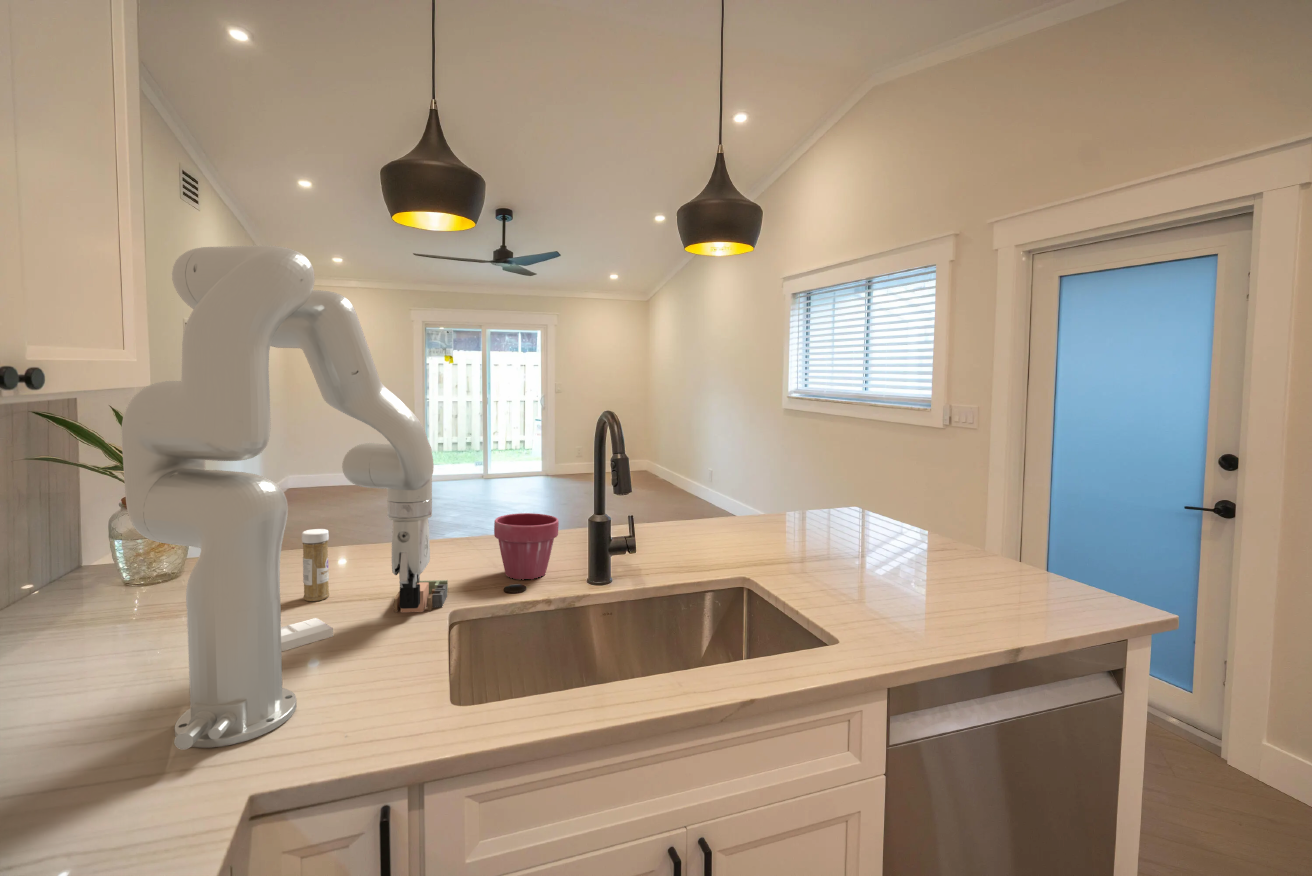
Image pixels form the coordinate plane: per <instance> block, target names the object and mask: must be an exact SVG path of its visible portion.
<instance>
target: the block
mask: <svg viewBox="0 0 1312 876" xmlns="http://www.w3.org/2000/svg"><path fill="white" fill-rule="evenodd" d="M419 584H420V604H419V606H418V608H407V609H401V608H400V613H423V612H425V610H426V608H427V604H428V596H429V594H430V593H429V582H420V583H419Z"/></svg>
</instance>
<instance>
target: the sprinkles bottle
mask: <svg viewBox="0 0 1312 876" xmlns="http://www.w3.org/2000/svg"><path fill="white" fill-rule="evenodd" d="M329 539H330V536H329V530H328V529H325V528H314V529H307V530H304V531H302V532H301V542H302V555H303V557H302V576H303V580H302V582H303V600H304V601H307V602H319V601H321V600H325V599H327V598H329V597H330V591H329V590H330V589H329V587H330V586H329V580H330V579H329V577H330V575H329V570H330V569H329V546H328V545H329V544H328V543H329Z"/></svg>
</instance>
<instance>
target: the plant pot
mask: <svg viewBox="0 0 1312 876" xmlns="http://www.w3.org/2000/svg"><path fill="white" fill-rule="evenodd" d="M493 527H494V528H493V533H494V534H493V536H494V537H495V539H497V540H498V545H499V550H500V555H501V559H502V564H503V569H504V573H505V576H506V577H507V576H508V577H507V578H509V577H510V579H512V578H513V579H512V580H521V579H522V580H521V581H523V580H524V579H531V580H535V579H534V578H537V579H539V578H538V577H540V578H542V577H541V576H543V577H544V576H545V575H546V574H547V571H548V567H549V562H550V558H551V555H552V550H553V545H554V541H555V540H554V539H555V538H557V537H558V535H559V518H557V517H556V516H553V515H549V514H545V513H544V514H543V513H535V512H533V513H532V512H529V513H527V512H525V513H524V512H523V513H522V512H521V513H520V512H518V513H511V514H510V513H509V514H504V515H501V516H498V517H496V518H495V519H494V525H493ZM545 573H546V574H545ZM524 581H525V580H524Z"/></svg>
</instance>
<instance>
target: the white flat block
mask: <svg viewBox="0 0 1312 876" xmlns="http://www.w3.org/2000/svg"><path fill="white" fill-rule="evenodd" d="M331 637H334V628H333V627H332V626H331V625H329V624H328V623H326V622H324V621H323V620H321V619H319V618H318V617H314V618H310V619H307V620H304V621H299V622H296V623H291V624H288V625H284V626H281V653H282V652H285V651H288V650H291V649H294V648H298V647H302V646H304V645H308V644H311V643H314V642H319V641H322V640H325V639H328V638H331Z"/></svg>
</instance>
